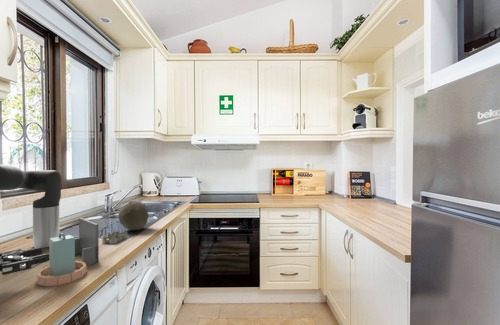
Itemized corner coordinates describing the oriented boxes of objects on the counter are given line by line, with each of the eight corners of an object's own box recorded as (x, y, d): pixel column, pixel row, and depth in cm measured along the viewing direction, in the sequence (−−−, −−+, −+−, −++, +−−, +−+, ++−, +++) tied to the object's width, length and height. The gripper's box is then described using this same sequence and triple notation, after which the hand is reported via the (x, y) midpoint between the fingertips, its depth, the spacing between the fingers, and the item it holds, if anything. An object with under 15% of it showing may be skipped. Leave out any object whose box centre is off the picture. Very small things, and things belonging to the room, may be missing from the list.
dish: (51, 269, 88) (51, 262, 88) (92, 267, 90) (92, 260, 90) (27, 287, 76) (27, 279, 76) (74, 283, 78) (74, 275, 78)
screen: (83, 266, 91) (83, 227, 91) (67, 255, 102) (67, 220, 102) (98, 262, 95) (98, 224, 95) (82, 251, 106) (81, 217, 106)
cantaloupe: (137, 226, 147) (137, 200, 147) (153, 229, 140) (153, 202, 140) (113, 231, 135) (113, 203, 135) (129, 236, 128) (129, 205, 128)
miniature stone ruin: (113, 245, 115) (113, 236, 115) (98, 244, 117) (98, 235, 117) (129, 238, 126) (129, 229, 126) (115, 237, 127) (115, 228, 127)
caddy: (54, 280, 79) (53, 236, 79) (49, 275, 82) (49, 233, 82) (74, 274, 84) (74, 232, 83) (69, 270, 87) (69, 230, 87)
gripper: (-31, 263, 62) (51, 246, 75) (-35, 250, 71) (39, 237, 84) (-31, 294, 62) (51, 272, 75) (-35, 277, 71) (39, 260, 84)
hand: (45, 253), depth 79 cm, fingers open, 8 cm apart
